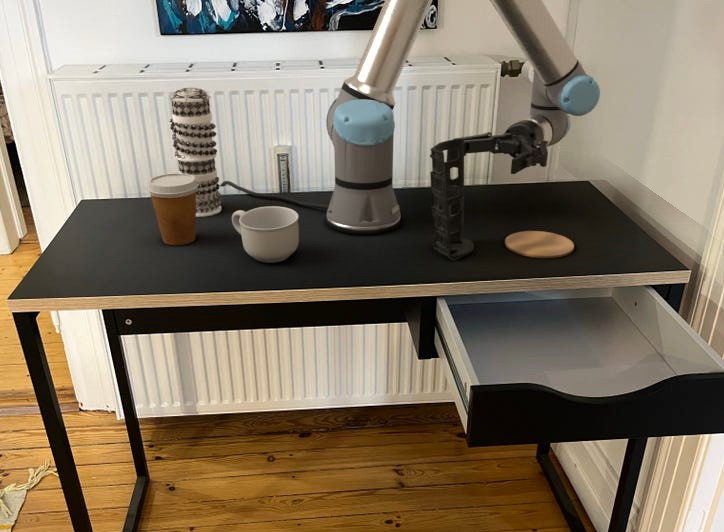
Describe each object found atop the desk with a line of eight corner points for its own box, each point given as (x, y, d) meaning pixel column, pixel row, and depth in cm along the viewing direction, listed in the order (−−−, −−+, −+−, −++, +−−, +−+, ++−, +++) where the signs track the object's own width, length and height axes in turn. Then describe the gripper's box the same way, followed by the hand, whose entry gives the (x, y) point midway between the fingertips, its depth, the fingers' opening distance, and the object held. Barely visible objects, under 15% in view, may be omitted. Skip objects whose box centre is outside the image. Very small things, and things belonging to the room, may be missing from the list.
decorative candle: (171, 213, 164) (155, 91, 151) (198, 201, 171) (186, 84, 158) (204, 220, 160) (192, 96, 147) (231, 207, 167) (221, 88, 154)
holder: (471, 261, 140) (468, 151, 130) (430, 262, 141) (424, 153, 132) (475, 240, 149) (472, 136, 140) (436, 241, 151) (431, 138, 141)
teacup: (312, 256, 143) (310, 215, 139) (268, 273, 136) (265, 230, 132) (263, 237, 151) (260, 198, 147) (219, 252, 144) (215, 212, 140)
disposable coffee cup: (213, 235, 152) (207, 175, 146) (184, 251, 145) (177, 189, 139) (174, 228, 156) (166, 170, 150) (144, 244, 148) (135, 183, 142)
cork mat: (493, 248, 146) (493, 245, 146) (522, 228, 155) (522, 226, 155) (557, 263, 139) (558, 261, 139) (584, 242, 148) (584, 239, 148)
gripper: (582, 164, 155) (539, 191, 140) (472, 147, 168) (422, 170, 153) (587, 127, 152) (544, 151, 137) (475, 112, 164) (424, 132, 149)
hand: (480, 161), depth 145 cm, fingers open, 13 cm apart
